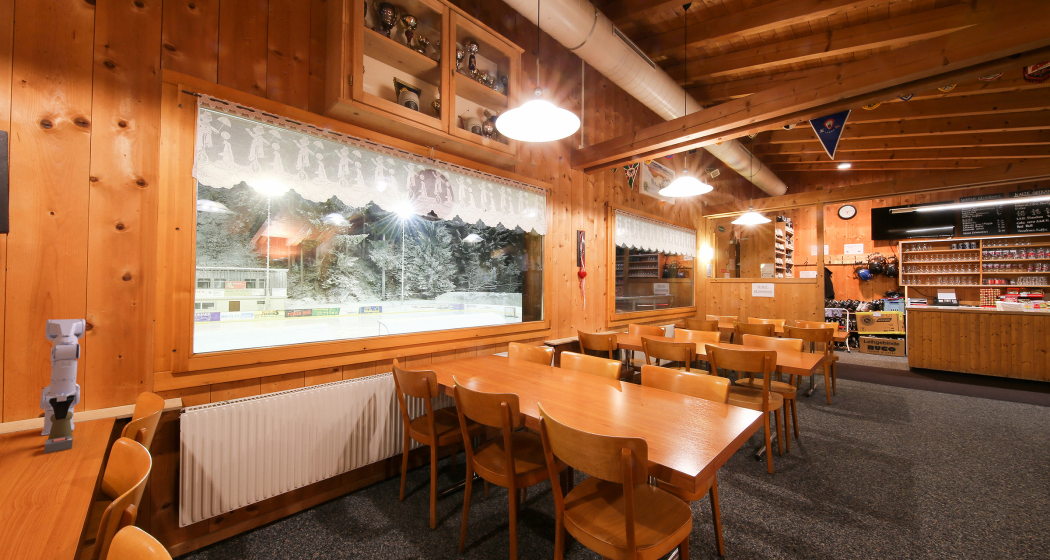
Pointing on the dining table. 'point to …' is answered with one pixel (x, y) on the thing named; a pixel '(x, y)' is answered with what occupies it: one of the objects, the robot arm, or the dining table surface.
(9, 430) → the dining table surface
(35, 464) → the dining table surface
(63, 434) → the cork
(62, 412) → the robot arm
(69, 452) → the dining table surface
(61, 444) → the block
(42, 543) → the dining table surface
